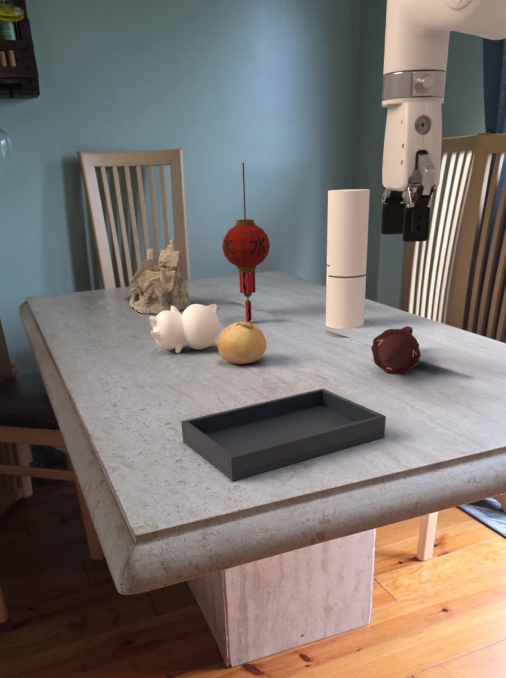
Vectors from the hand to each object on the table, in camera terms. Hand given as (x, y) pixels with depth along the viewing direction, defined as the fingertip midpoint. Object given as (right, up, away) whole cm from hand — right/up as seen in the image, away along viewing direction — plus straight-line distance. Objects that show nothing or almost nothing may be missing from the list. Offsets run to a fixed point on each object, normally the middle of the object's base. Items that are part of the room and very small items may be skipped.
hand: (403, 237), depth 84 cm
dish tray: (-17, -28, -11) cm, 34 cm away
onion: (-22, -14, +19) cm, 32 cm away
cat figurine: (-32, -11, +27) cm, 43 cm away
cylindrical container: (-3, -7, +34) cm, 35 cm away
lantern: (-21, -3, +44) cm, 49 cm away
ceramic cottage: (-43, +5, +63) cm, 76 cm away
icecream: (+1, -17, +11) cm, 20 cm away
